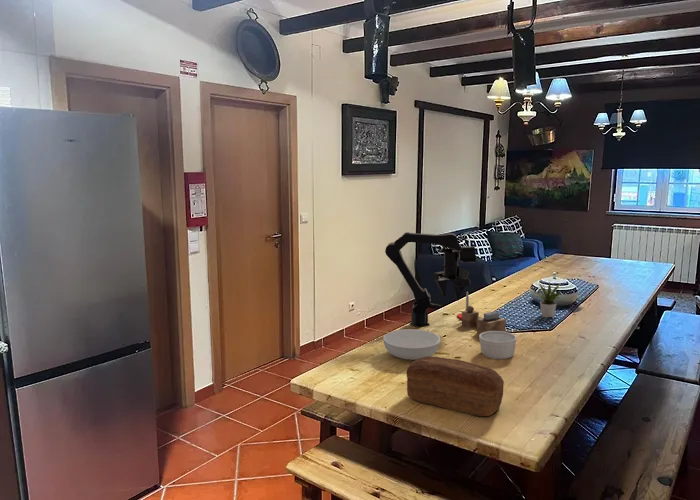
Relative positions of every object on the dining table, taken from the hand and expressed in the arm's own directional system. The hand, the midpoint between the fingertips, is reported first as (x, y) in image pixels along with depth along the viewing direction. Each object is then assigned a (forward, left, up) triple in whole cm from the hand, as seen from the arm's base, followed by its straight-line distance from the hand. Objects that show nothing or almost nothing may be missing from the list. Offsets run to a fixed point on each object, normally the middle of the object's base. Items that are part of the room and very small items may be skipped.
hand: (450, 298), depth 228 cm
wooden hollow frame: (+6, -12, -12) cm, 18 cm away
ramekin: (-8, -37, -12) cm, 40 cm away
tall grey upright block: (+6, -18, -10) cm, 21 cm away
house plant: (+43, -13, -12) cm, 47 cm away
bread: (-47, -59, -12) cm, 76 cm away
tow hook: (+13, +5, -12) cm, 19 cm away
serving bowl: (-35, -21, -12) cm, 43 cm away
